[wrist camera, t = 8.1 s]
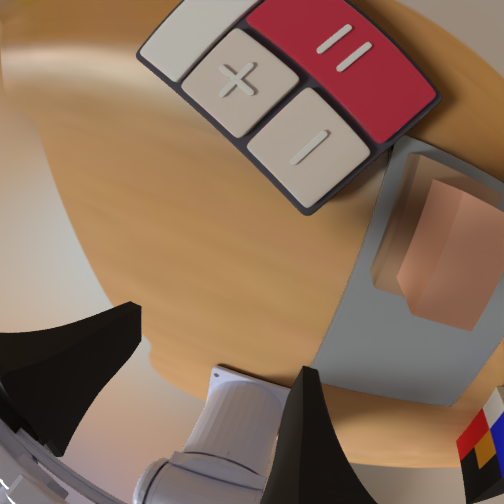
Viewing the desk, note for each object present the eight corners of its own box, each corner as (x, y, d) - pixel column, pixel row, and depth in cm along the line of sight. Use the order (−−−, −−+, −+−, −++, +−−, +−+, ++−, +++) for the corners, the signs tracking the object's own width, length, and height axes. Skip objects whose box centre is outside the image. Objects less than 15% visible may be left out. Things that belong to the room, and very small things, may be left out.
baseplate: (449, 403, 21) (450, 406, 20) (306, 374, 23) (305, 379, 23) (553, 217, 13) (556, 219, 12) (395, 132, 15) (397, 132, 15)
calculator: (306, 224, 15) (125, 54, 13) (308, 204, 19) (159, 64, 17) (451, 97, 11) (249, -65, 9) (424, 102, 15) (262, -35, 12)
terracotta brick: (448, 294, 15) (471, 331, 11) (396, 277, 15) (411, 314, 12) (486, 204, 12) (522, 223, 9) (433, 178, 13) (463, 191, 9)
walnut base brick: (441, 293, 17) (452, 311, 15) (369, 270, 18) (374, 287, 16) (483, 187, 14) (501, 194, 12) (408, 153, 15) (420, 154, 13)
